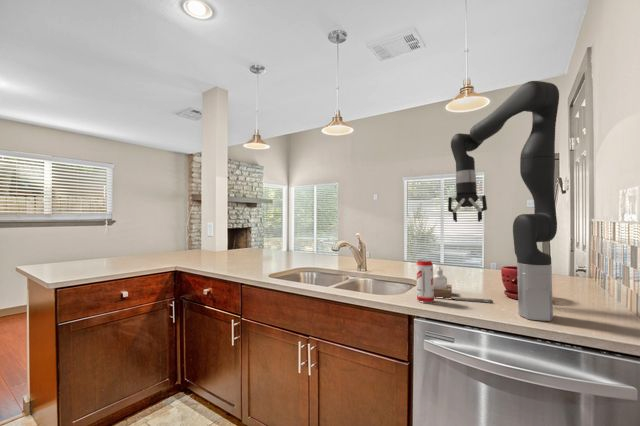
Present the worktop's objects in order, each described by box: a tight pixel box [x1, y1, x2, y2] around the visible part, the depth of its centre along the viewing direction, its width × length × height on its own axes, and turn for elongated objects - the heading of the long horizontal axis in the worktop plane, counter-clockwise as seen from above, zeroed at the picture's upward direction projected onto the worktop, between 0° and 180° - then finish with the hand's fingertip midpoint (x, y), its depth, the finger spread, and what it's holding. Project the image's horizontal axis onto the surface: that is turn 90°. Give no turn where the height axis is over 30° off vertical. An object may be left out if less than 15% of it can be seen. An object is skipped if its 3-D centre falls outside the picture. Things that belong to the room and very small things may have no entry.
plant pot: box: [500, 265, 518, 300], centre depth 125 cm, size 13×13×12 cm
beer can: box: [415, 258, 435, 303], centre depth 122 cm, size 6×6×16 cm
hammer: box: [434, 284, 494, 304], centre depth 127 cm, size 12×24×4 cm, turn 66°
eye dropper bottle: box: [433, 266, 448, 289], centre depth 131 cm, size 4×6×12 cm
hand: (467, 221), depth 127 cm, fingers open, 8 cm apart
